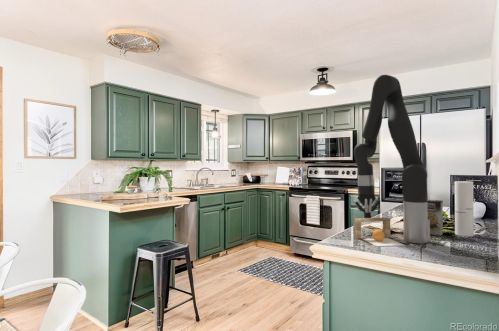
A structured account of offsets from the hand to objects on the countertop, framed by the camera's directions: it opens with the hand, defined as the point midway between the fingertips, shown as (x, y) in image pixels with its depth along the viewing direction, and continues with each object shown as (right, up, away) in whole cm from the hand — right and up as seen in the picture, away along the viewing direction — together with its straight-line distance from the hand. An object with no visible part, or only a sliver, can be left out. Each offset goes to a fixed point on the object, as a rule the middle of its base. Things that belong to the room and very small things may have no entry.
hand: (367, 220), depth 146 cm
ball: (-1, -4, -15) cm, 15 cm away
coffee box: (+30, -6, -1) cm, 31 cm away
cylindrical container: (+44, -6, -5) cm, 44 cm away
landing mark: (0, -6, -17) cm, 18 cm away
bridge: (-1, -6, -8) cm, 10 cm away
